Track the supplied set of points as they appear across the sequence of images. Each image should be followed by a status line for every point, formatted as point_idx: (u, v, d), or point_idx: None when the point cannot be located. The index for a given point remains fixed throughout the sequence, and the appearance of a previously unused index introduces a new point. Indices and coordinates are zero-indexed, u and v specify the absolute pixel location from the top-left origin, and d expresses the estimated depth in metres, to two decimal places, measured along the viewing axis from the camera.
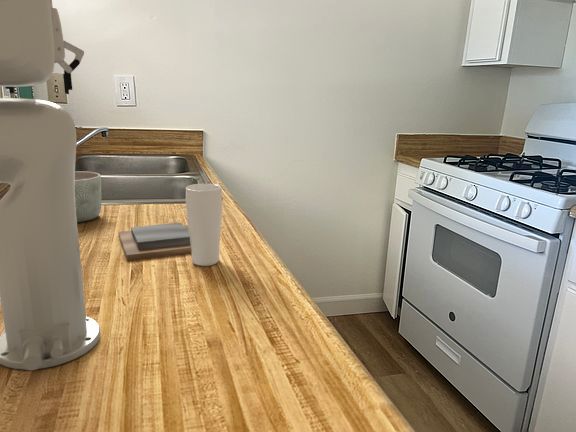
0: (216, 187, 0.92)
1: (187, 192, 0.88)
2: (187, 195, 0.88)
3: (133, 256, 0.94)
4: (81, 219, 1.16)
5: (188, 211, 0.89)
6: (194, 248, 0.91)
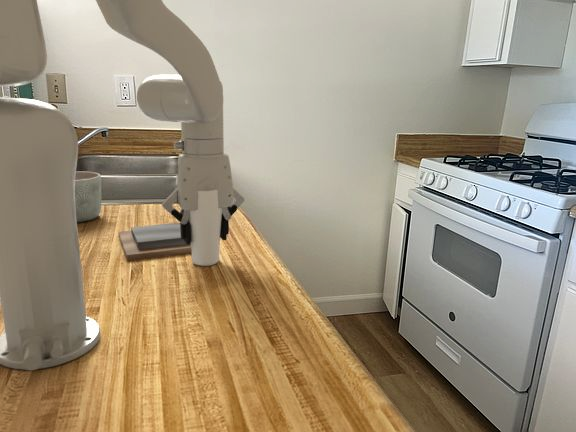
0: None
1: None
2: None
3: (133, 256, 0.94)
4: (81, 219, 1.16)
5: None
6: (194, 248, 0.91)
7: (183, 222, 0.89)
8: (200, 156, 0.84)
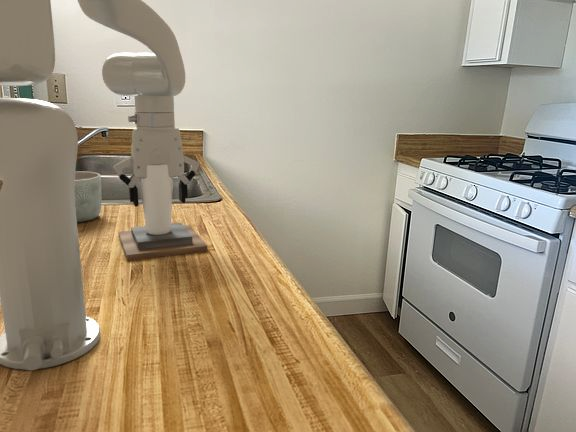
0: None
1: None
2: None
3: (133, 256, 0.94)
4: (81, 219, 1.16)
5: (140, 184, 0.97)
6: (147, 218, 0.99)
7: (130, 185, 0.97)
8: (151, 128, 0.93)
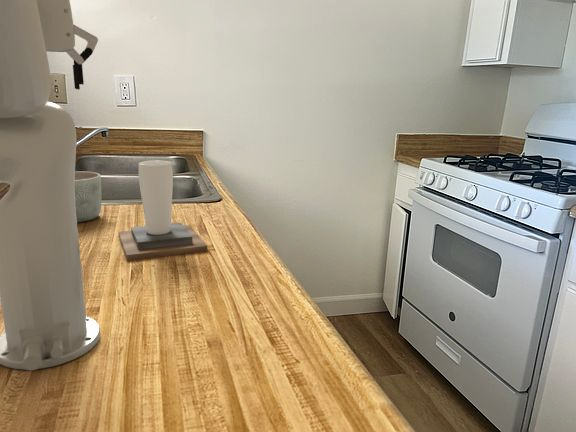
0: (167, 163, 1.01)
1: (139, 167, 0.97)
2: (139, 169, 0.97)
3: (133, 256, 0.94)
4: (81, 219, 1.16)
5: (140, 184, 0.97)
6: (147, 218, 0.99)
7: None
8: None
